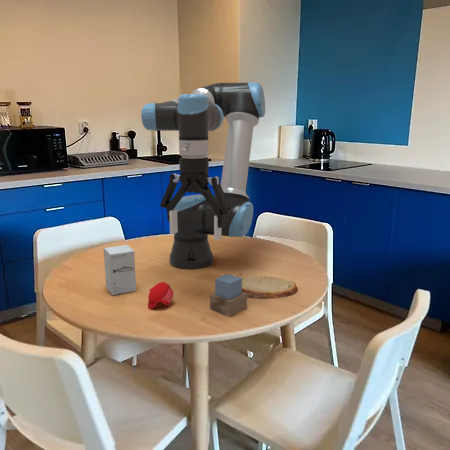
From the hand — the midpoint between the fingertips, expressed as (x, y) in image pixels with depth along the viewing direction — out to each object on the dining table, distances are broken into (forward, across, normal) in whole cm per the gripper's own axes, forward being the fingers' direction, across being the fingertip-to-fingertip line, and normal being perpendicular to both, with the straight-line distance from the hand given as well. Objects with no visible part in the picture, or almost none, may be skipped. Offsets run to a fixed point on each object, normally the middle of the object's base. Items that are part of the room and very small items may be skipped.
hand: (195, 236), depth 122 cm
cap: (+19, -8, -6) cm, 22 cm away
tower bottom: (+19, +10, 0) cm, 22 cm away
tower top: (+15, +10, -1) cm, 18 cm away
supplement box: (+19, -24, -2) cm, 31 cm away
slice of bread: (+19, +13, +16) cm, 28 cm away
